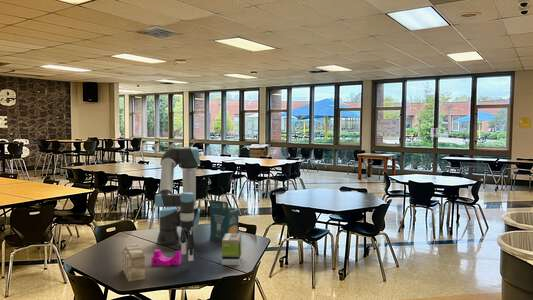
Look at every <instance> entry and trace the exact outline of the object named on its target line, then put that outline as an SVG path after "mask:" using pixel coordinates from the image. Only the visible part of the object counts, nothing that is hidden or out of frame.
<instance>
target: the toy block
mask: <svg viewBox="0 0 533 300" xmlns="http://www.w3.org/2000/svg"><path fill="white" fill-rule="evenodd" d="M181 264H182V254H181V249H180V250H176V251H175V253H174V256H172V257H168V256H165V255H164V254H163V253H162V249H158V248H157V249H154V250H153V256H152V257H151V266H161V267H162V266H164V267H170V266H171V265H174V266H180V265H181Z"/></svg>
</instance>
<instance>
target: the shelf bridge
mask: <svg viewBox="0 0 533 300" xmlns="http://www.w3.org/2000/svg"><path fill="white" fill-rule="evenodd" d="M145 257H146V256H145V254H144V252H143V250H142V249H141V247H140V246H139V244H138V243H134V244H133V243H131V244H126V245H125V247H122V271H124V272H123V274H124V273H125V274H124V275H126V276H125V277H126V280H127V281H128V282H132V281H139V280H145V279H146V276H145V274H146V269H145V268H146V259H145Z"/></svg>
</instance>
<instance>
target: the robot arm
mask: <svg viewBox="0 0 533 300" xmlns="http://www.w3.org/2000/svg"><path fill="white" fill-rule="evenodd" d="M199 152H200V151H199V148H198V147H196V146H194V147H193V146H175V147H171V148H169V149H168V150H166V151H165V152H164V153H163V155H161V156H162V157H161V158H160V167H161V171H160V181H159V182H160V183H159V193H158V194H155V195H154V206H155V207H156V208H162V209H160V211H159V216H158V217H159V232H158V236H157V238H156V244H157V245H159V246H171V245H177V244H179V243H180V244H181V245H180V251H181V255H187V260H188V262H191V261H193V262H194V250H195V248H196V247H195V246H196V245H195V240H194V230H192V228H194V227H197V226H198V225H199V222H200V215H201V209H200V208H199V206H198V205H197V203H196V201H197V198H196V197H197V196H196V195H197V194H196V192H197V190H196V189H197V188H196V187H197V183H196V182H197V177H196V176H197V175H196V173H197V172H196V171H197V169H198V168H199V165H201V158H200V153H199ZM176 166H179V168H180V169H181V170H182V192H181V193H174V192H173V188H174V173H175V172H174V171H175V167H176ZM179 207H180V208H179ZM178 227H180V228H181V231H180V235H179V232H178Z"/></svg>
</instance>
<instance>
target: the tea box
mask: <svg viewBox="0 0 533 300" xmlns="http://www.w3.org/2000/svg"><path fill="white" fill-rule="evenodd" d="M241 259H242V233H239V232H238V233H225V235H224V237H223V239H222V242H221V265H222V266H224V265H226V266H229V265H230V266H240V263H241Z"/></svg>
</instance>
